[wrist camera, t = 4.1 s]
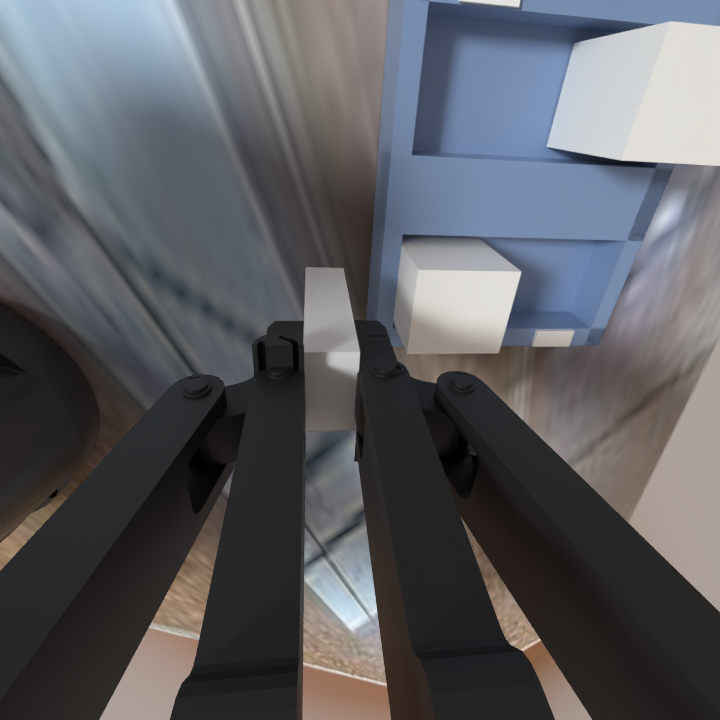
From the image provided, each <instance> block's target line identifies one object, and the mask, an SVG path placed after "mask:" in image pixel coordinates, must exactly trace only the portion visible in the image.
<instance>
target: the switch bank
mask: <svg viewBox="0 0 720 720" xmlns="http://www.w3.org/2000/svg"><path fill="white" fill-rule="evenodd" d="M670 21H674V22H684V23H693V24H703V25H712V26H720V0H389V11H388V25H387V39H386V52H385V66H384V80H383V94H382V108H381V121H380V135H379V149H378V163H377V176H376V190H375V204H374V218H373V232H372V245H371V259H370V273H369V287H368V301H367V314H366V319H367V321H379V322H380V323H381V324H382V325H383V326H385V327H386V329H387V332H388V337H389V338H390V341H391V344H392V347H404V346H403V344H402V341H401V339H400V336H399V334H398V331H397V329H396V326H395V324H394V321H393V317H394V308H395V299H396V291H397V282H398V273H399V264H400V255H401V246H402V237H403V234H408V235H443V236H477V237H478V238H479V239H481V240H482V241H483V242H484V243H486V244H487V245H488V246H489V247H491V248H492V249H493V250H495V251H496V252H497V253H498V254H500V255H501V256H502V257H504V258H505V259H506V260H507V261H509V262H510V263H511V264H512V265H514V266H515V267H516V268H518V269H519V270H520V271H521V276H520V279H519V283H518V287H517V290H516V294H515V297H514V301H513V305H512V308H511V312H510V315H509V319H508V322H507V326H506V330H505V333H504V337H503V340H502V344H501V346H532V347H569V345H598V344H599V342H600V340H601V337H602V335H603V333H604V330H605V328H606V326H607V323H608V321H609V319H610V316H611V314H612V312H613V309H614V307H615V304H616V302H617V300H618V297H619V295H620V293H621V290H622V288H623V286H624V283H625V281H626V279H627V276H628V274H629V272H630V269H631V267H632V265H633V262H634V260H635V258H636V255H637V253H638V250H639V248H640V246H641V243H642V241H643V239H644V236H645V234H646V232H647V229H648V227H649V225H650V222H651V220H652V218H653V215H654V213H655V211H656V208H657V206H658V204H659V201H660V199H661V196H662V194H663V192H664V189H665V187H666V185H667V182H668V180H669V178H670V175H671V173H672V171H673V168H674V166H675V164H676V163H658V162H640V161H622V160H616V159H610V158H605V157H599V156H594V155H588V154H583V153H577V152H572V151H566V150H561V149H555V148H550V147H547V143H548V139H549V135H550V132H551V128H552V124H553V120H554V117H555V113H556V109H557V105H558V102H559V98H560V94H561V90H562V87H563V83H564V79H565V76H566V72H567V68H568V64H569V61H570V57H571V53H572V49H573V46H574V43H576V42H581V41H585V40H590V39H594V38H599V37H603V36H608V35H612V34H616V33H621V32H625V31H630V30H634V29H639V28H643V27H647V26H652V25H656V24H661V23H665V22H670Z"/></svg>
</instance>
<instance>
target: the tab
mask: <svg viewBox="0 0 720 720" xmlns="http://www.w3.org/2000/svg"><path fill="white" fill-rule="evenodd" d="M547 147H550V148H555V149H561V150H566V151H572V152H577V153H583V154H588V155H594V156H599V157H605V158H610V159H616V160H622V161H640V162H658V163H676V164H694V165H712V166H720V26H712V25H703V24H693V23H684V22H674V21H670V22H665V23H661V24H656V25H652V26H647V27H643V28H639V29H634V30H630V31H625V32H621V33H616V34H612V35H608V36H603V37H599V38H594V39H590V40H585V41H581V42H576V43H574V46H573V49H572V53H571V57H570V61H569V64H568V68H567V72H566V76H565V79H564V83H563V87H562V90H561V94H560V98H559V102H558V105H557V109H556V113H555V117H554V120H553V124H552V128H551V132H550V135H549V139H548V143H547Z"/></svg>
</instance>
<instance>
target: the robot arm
mask: <svg viewBox="0 0 720 720" xmlns="http://www.w3.org/2000/svg"><path fill="white" fill-rule="evenodd" d="M252 352H253V363H254V376H253V377H252V378H251V379H249V380H247V381H245V382H242V383H239V384H235V385H230V386H224V383H223V381H222V380H221V379H219V378H218V377H216V376H212V375H192V376H188V377H186V378H183V379H181V380H179V381H177V382H176V383H175V384H173V385H172V386H171V387H170V388H169V389H168V390H167V391H166V392H165V393H164V395H163V396H162V397H161V398H160V399H159V400H158V401H157V402H156V403H155V404H154V405H153V406H152V408H151V409H150V410H149V411H148V412H147V413H146V414H145V415H144V416H143V417H142V418H141V419H140V420H139V422H138V423H137V424H136V425H135V426H134V427H133V428H132V429H131V430H130V431H129V432H128V433H127V435H126V436H125V437H124V438H123V439H122V440H121V441H120V442H119V443H118V444H117V445H116V446H115V448H114V449H113V450H112V451H111V452H110V453H109V454H108V455H107V456H106V457H105V458H104V459H103V460H102V462H101V463H100V464H99V465H98V466H97V467H96V468H95V469H94V470H93V471H92V472H91V473H90V475H89V476H88V477H87V478H86V479H85V480H84V481H83V482H82V483H81V484H80V485H79V486H78V488H77V489H76V490H75V491H74V492H73V493H72V494H71V495H70V496H69V497H68V498H67V499H66V501H65V502H64V503H63V504H62V505H61V506H60V507H59V508H58V509H57V510H56V511H55V512H54V513H53V515H52V516H51V517H50V518H49V519H48V520H47V521H46V522H45V523H44V524H43V525H42V526H41V528H40V529H39V530H38V531H37V532H36V533H35V534H34V535H33V536H32V537H31V538H30V539H29V541H28V542H27V543H26V544H25V545H24V546H23V547H22V548H21V549H20V550H19V551H18V552H17V553H16V555H15V556H14V557H13V558H12V559H11V560H10V561H9V562H8V563H7V564H6V565H5V566H4V568H3V569H2V570H1V571H0V720H99V719H100V717H101V715H102V713H103V711H104V710H105V708H106V706H107V704H108V702H109V700H110V699H111V697H112V695H113V693H114V691H115V689H116V687H117V685H118V684H119V682H120V680H121V678H122V676H123V674H124V672H125V670H126V669H127V667H128V665H129V663H130V661H131V659H132V657H133V656H134V653H135V652H136V650H137V648H138V646H139V644H140V642H141V641H142V639H143V637H144V635H145V633H146V631H147V629H148V628H149V626H150V624H151V622H152V620H153V618H154V616H155V614H156V613H157V611H158V609H159V607H160V605H161V603H162V601H163V600H164V598H165V596H166V594H167V592H168V590H169V588H170V586H171V585H172V583H173V581H174V579H175V577H176V575H177V573H178V572H179V570H180V568H181V566H182V564H183V562H184V560H185V558H186V557H187V555H188V553H189V551H190V549H191V547H192V545H193V543H194V542H195V540H196V538H197V536H198V534H199V532H200V530H201V529H202V527H203V525H204V523H205V521H206V519H207V517H208V515H209V514H210V512H211V510H212V508H213V506H214V504H215V502H216V501H217V499H218V497H219V495H220V493H221V491H222V489H223V487H224V486H225V484H226V482H227V480H228V478H229V476H230V474H231V473H232V471H233V469H234V465H235V469H234V473H233V478H232V483H231V488H230V493H229V498H228V503H227V507H226V512H225V517H224V522H223V527H222V532H221V537H220V541H219V546H218V551H217V556H216V561H215V566H214V571H213V575H212V580H211V585H210V590H209V595H208V600H207V605H206V609H205V614H204V619H203V624H202V629H201V634H200V639H199V644H198V648H197V653H196V658H195V661H194V666H193V668H192V671H191V673H190V675H189V676H188V677H187V678H186V679H185V681H184V682H183V683H182V685H181V687H180V689H179V691H178V694H177V696H176V699H175V703H174V706H173V710H172V714H171V718H170V720H302V698H303V697H302V696H303V695H302V694H303V615H304V529H305V431H346V430H355V420H356V427H357V431H356V445H355V458H354V461H358V464H359V472H360V480H361V488H362V495H363V503H364V511H365V519H366V526H367V534H368V542H369V550H370V557H371V565H372V573H373V581H374V588H375V596H376V604H377V612H378V619H379V627H380V635H381V643H382V650H383V658H384V666H385V674H386V681H387V689H388V697H389V705H390V713H391V720H555V719H554V716H553V713H552V711H551V708H550V706H549V704H548V701H547V698H546V696H545V693H544V691H543V688H542V686H541V683H540V681H539V679H538V677H537V675H536V672H535V670H534V668H533V666H532V664H531V662H530V661H529V660H528V659H527V657H526V656H525V655H524V653H523V652H522V651H521V650H519V649H517V648H515V647H513V646H512V645H510V644H509V643H508V641H507V640H506V639H505V637H504V634H503V632H502V630H501V627H500V625H499V622H498V619H497V616H496V614H495V611H494V608H493V605H492V602H491V600H490V597H489V594H488V591H487V589H486V586H485V583H484V580H483V577H482V575H481V572H480V569H479V566H478V564H477V561H476V558H475V555H474V553H473V550H472V547H471V544H470V541H469V539H468V536H467V533H466V530H465V528H464V525H463V522H462V519H463V520H464V522H465V523H466V525H467V526H468V528H469V529H470V531H471V532H472V534H473V536H474V537H475V539H476V540H477V542H478V543H479V545H480V546H481V548H482V550H483V551H484V553H485V554H486V556H487V557H488V559H489V560H490V562H491V563H492V565H493V567H494V568H495V570H496V571H497V573H498V574H499V576H500V577H501V579H502V580H503V582H504V584H505V585H506V587H507V588H508V590H509V591H510V593H511V594H512V596H513V597H514V599H515V601H516V602H517V604H518V605H519V607H520V608H521V610H522V611H523V613H524V615H525V616H526V618H527V619H528V621H529V622H530V624H531V625H532V627H533V628H534V630H535V632H536V633H537V635H538V636H539V638H540V639H541V641H542V642H543V644H544V645H545V647H546V649H547V650H548V652H549V653H550V655H551V656H552V658H553V659H554V661H555V662H556V664H557V666H558V667H559V669H560V670H561V672H562V673H563V675H564V676H565V678H566V679H567V681H568V683H569V684H570V685H571V687H572V689H573V690H574V692H575V693H576V695H577V696H578V698H579V700H580V701H581V703H582V704H583V706H584V707H585V709H586V710H587V712H588V714H589V715H590V717H591V718H592V720H720V612H719V611H718V610H717V609H716V608H715V607H714V606H713V605H712V604H711V603H710V602H709V601H708V600H707V599H706V598H705V597H703V596H702V594H701V593H699V592H698V591H697V590H696V589H695V588H694V587H693V586H692V585H691V584H690V583H689V582H688V581H687V580H686V579H685V578H684V577H683V576H682V575H681V574H680V573H679V572H678V571H677V570H676V569H675V568H674V567H673V566H672V565H671V564H670V563H668V561H667V560H665V559H664V557H662V556H661V555H660V554H659V553H658V552H657V551H656V550H655V549H654V548H653V547H652V546H651V545H650V544H649V543H648V542H647V541H646V540H645V539H644V538H643V537H642V536H641V535H640V534H639V533H638V532H637V531H636V530H635V529H634V528H633V527H632V526H631V525H630V524H629V523H628V522H627V521H626V520H624V519H623V518H622V517H621V516H620V515H619V514H618V513H617V512H616V511H615V510H614V509H613V508H612V507H611V506H610V505H609V504H608V503H607V502H606V501H605V500H604V499H603V498H602V497H601V496H600V495H599V494H598V493H597V492H596V491H595V490H594V489H593V488H592V487H591V486H590V485H589V484H587V483H586V482H585V481H584V480H583V479H582V478H581V477H580V476H579V475H578V474H577V473H576V472H575V471H574V470H573V469H572V468H571V467H570V466H569V465H568V464H567V463H566V462H565V461H564V460H563V459H562V458H561V457H560V456H559V455H558V454H557V453H556V452H555V451H554V450H553V449H552V448H550V447H549V446H548V445H547V444H546V443H545V442H544V441H543V440H542V439H541V438H540V437H539V436H538V435H537V434H536V433H535V432H534V431H533V430H532V429H531V428H530V427H529V426H528V425H527V424H526V423H525V422H524V421H523V420H522V419H521V418H520V417H519V416H518V415H517V414H516V413H515V412H514V411H512V410H511V409H510V408H509V407H508V406H507V405H506V404H505V403H504V402H503V401H502V400H501V399H500V398H499V397H498V396H497V395H496V394H495V393H494V392H493V391H492V390H491V389H490V388H489V387H488V386H487V385H486V384H485V383H484V382H483V381H481V380H480V379H479V378H477V377H476V376H473V375H471V374H468V373H465V372H460V371H451V372H446V373H443V374H441V375H440V376H439V377H438V379H437V384H436V383H430V382H425V381H421V380H417V379H414V378H412V377H410V375H409V372H408V370H407V369H406V367H405V366H404V365H402V364H401V363H399V362H397V359H396V356H395V353H394V350H393V347H392V344H391V341H390V338H389V337H388V332H387V329H386V327H385V326H383V325H382V324H381V323H380V322H379V321H365V320H354V319H353V314H352V309H351V304H350V299H349V294H348V289H347V284H346V279H345V274H344V269H343V268H323V267H306V273H305V305H304V321H275V322H274V323H273V324H271V325H270V326H269V327H268V330H267V335H265V336H262V337H260V338H258V339H257V340H255V341H254V343H253V344H252ZM98 429H99V417H98V410H97V405H96V402H95V399H94V396H93V394H92V391H91V389H90V387H89V385H88V383H87V381H86V380H85V378H84V376H83V375H82V373H81V372H80V370H79V369H78V368H77V366H76V365H75V364H74V362H73V361H72V360H71V359H70V358H69V356H68V355H67V354H66V353H65V352H64V351H63V350H62V349H61V348H60V347H59V346H58V345H57V344H56V343H55V342H54V341H53V340H52V339H50V338H49V337H48V336H47V335H46V334H44V333H43V332H42V331H41V330H39V329H38V328H37V327H35V326H34V325H33V324H31V323H30V322H28V321H27V320H26V319H24V318H23V317H21V316H20V315H18V314H16V313H15V312H13V311H11V310H10V309H8V308H6V307H4V306H3V305H1V304H0V542H2V541H3V540H4V539H5V538H6V537H7V536H8V535H10V534H11V533H12V532H13V531H14V530H15V529H16V528H17V527H18V526H19V525H20V524H21V523H22V522H23V521H24V520H25V519H26V518H27V517H28V516H29V515H30V514H31V513H33V512H35V511H37V510H39V509H41V508H42V507H44V506H46V505H47V504H49V503H50V502H51V501H53V500H54V499H55V498H56V497H58V496H59V495H60V494H61V493H62V492H63V491H64V490H65V489H66V488H67V487H68V486H69V485H70V484H71V482H72V481H73V480H74V479H75V477H76V476H77V474H78V473H79V471H80V469H81V468H82V466H83V465H84V463H85V461H86V460H87V458H88V457H89V455H90V453H91V452H92V450H93V448H94V445H95V443H96V440H97V436H98ZM235 462H236V464H235ZM460 515H461V516H460ZM461 517H462V519H461Z"/></svg>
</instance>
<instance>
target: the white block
mask: <svg viewBox="0 0 720 720" xmlns="http://www.w3.org/2000/svg"><path fill="white" fill-rule="evenodd" d="M520 276H521V271H520V270H519V269H518V268H516V267H515V266H514V265H512V264H511V263H510V262H509V261H507V260H506V259H505V258H504V257H502V256H501V255H500V254H498V253H497V252H496V251H495V250H493V249H492V248H491V247H489V246H488V245H487V244H486V243H484V242H483V241H482V240H481V239H479V238H478V237H477V236H443V235H408V234H403V237H402V246H401V255H400V264H399V273H398V282H397V291H396V299H395V308H394V317H393V321H394V324H395V326H396V329H397V331H398V334H399V336H400V339H401V341H402V344H403V346H404V349H405V351H406V354H481V353H499V351H500V347H501V344H502V340H503V337H504V333H505V330H506V326H507V322H508V319H509V315H510V312H511V308H512V305H513V301H514V297H515V294H516V290H517V287H518V283H519V279H520Z"/></svg>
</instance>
